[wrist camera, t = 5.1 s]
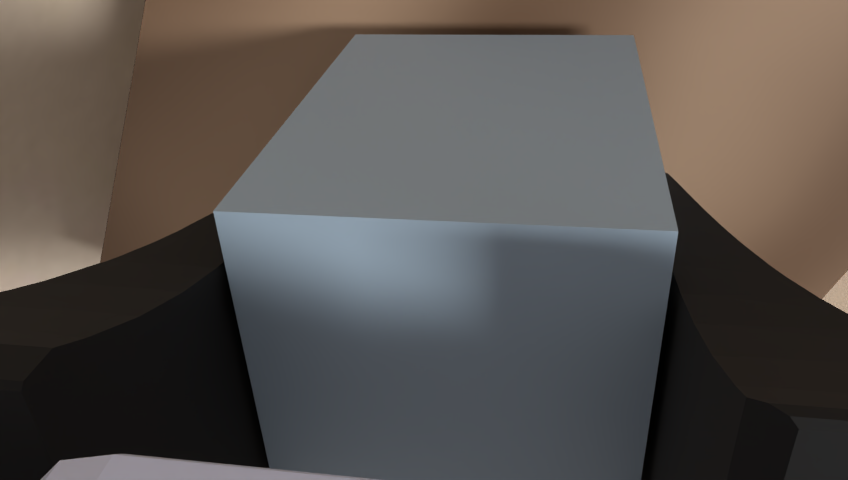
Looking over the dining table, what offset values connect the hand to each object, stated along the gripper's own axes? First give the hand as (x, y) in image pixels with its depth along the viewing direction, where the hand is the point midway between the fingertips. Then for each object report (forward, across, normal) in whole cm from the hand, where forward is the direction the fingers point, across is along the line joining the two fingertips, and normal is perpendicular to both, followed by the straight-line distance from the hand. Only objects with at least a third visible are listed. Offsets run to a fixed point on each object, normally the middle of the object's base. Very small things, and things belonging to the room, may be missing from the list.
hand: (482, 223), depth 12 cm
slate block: (+2, 0, 0) cm, 2 cm away
